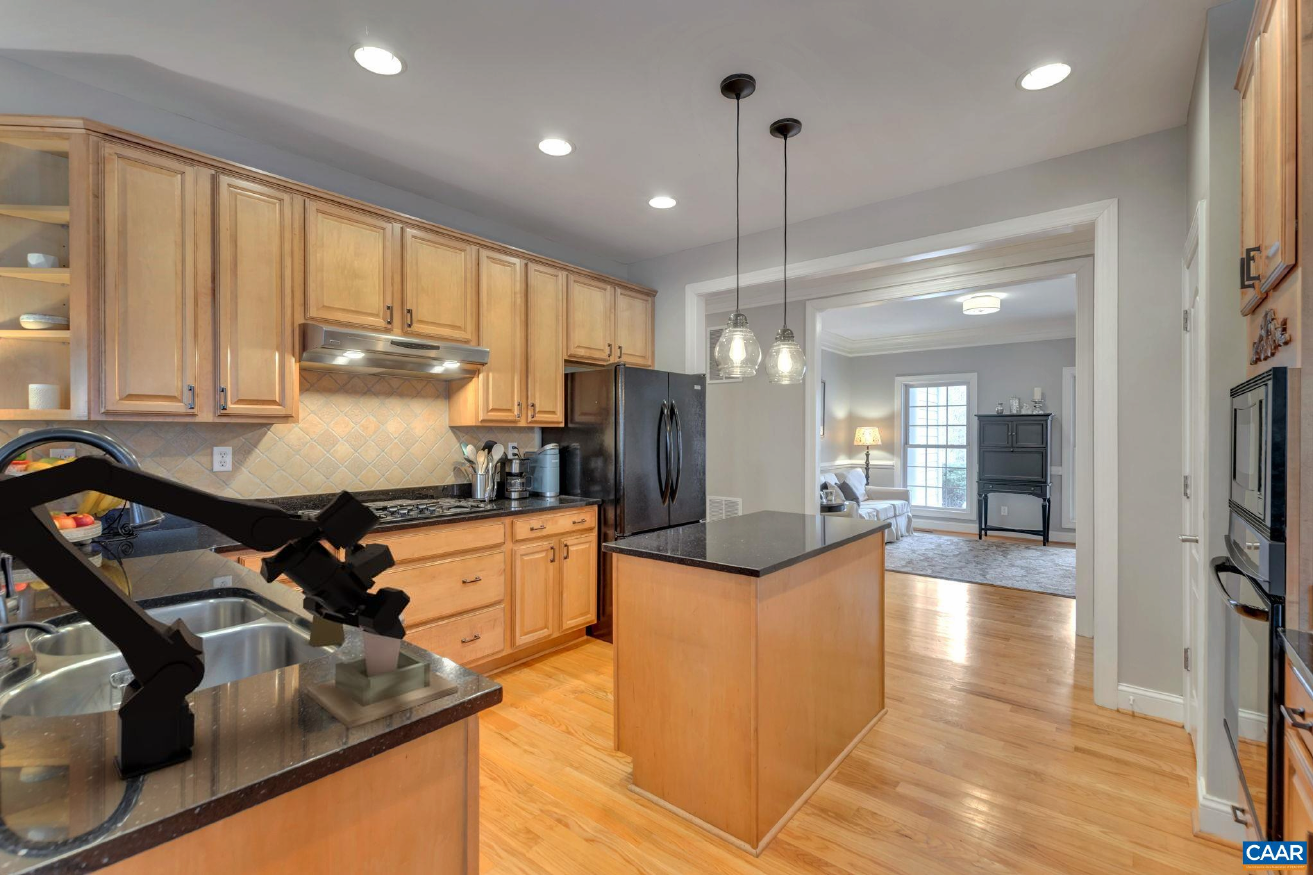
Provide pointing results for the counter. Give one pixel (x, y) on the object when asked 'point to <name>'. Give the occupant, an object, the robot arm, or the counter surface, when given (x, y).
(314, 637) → the cork
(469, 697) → the counter surface
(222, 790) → the counter surface
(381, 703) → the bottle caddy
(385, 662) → the smoothie
